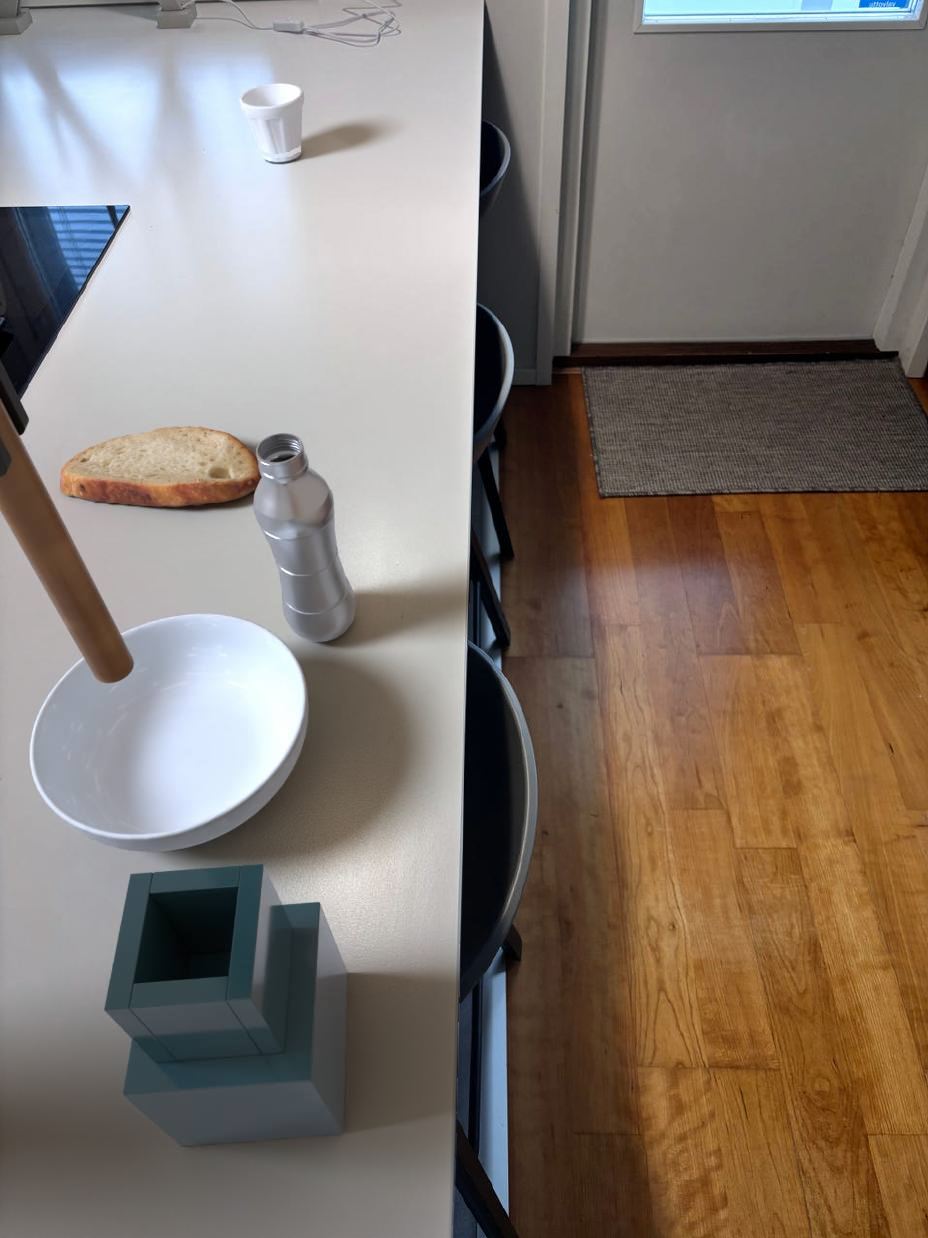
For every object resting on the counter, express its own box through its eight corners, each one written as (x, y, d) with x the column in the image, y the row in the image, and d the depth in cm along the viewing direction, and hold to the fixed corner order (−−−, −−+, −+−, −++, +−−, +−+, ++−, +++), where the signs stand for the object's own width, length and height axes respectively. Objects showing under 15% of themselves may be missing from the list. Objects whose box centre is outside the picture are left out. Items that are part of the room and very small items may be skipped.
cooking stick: (89, 685, 52) (-95, 369, 37) (98, 653, 53) (-75, 337, 38) (130, 682, 51) (-38, 364, 37) (137, 651, 53) (-21, 333, 38)
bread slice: (50, 480, 102) (36, 452, 99) (197, 409, 109) (188, 381, 106) (125, 567, 92) (112, 539, 89) (281, 483, 99) (273, 454, 97)
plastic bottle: (347, 588, 89) (309, 411, 74) (369, 638, 84) (333, 462, 69) (280, 609, 87) (227, 433, 72) (299, 661, 83) (246, 486, 68)
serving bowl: (343, 667, 82) (330, 614, 77) (290, 893, 69) (270, 847, 64) (114, 657, 85) (87, 605, 80) (19, 874, 71) (-21, 829, 66)
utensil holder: (180, 1147, 58) (64, 1046, 44) (201, 983, 65) (107, 849, 50) (343, 1134, 58) (280, 1029, 44) (347, 972, 65) (294, 835, 50)
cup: (323, 158, 153) (313, 96, 146) (266, 175, 150) (252, 112, 143) (299, 137, 159) (288, 77, 152) (243, 153, 156) (229, 93, 149)
